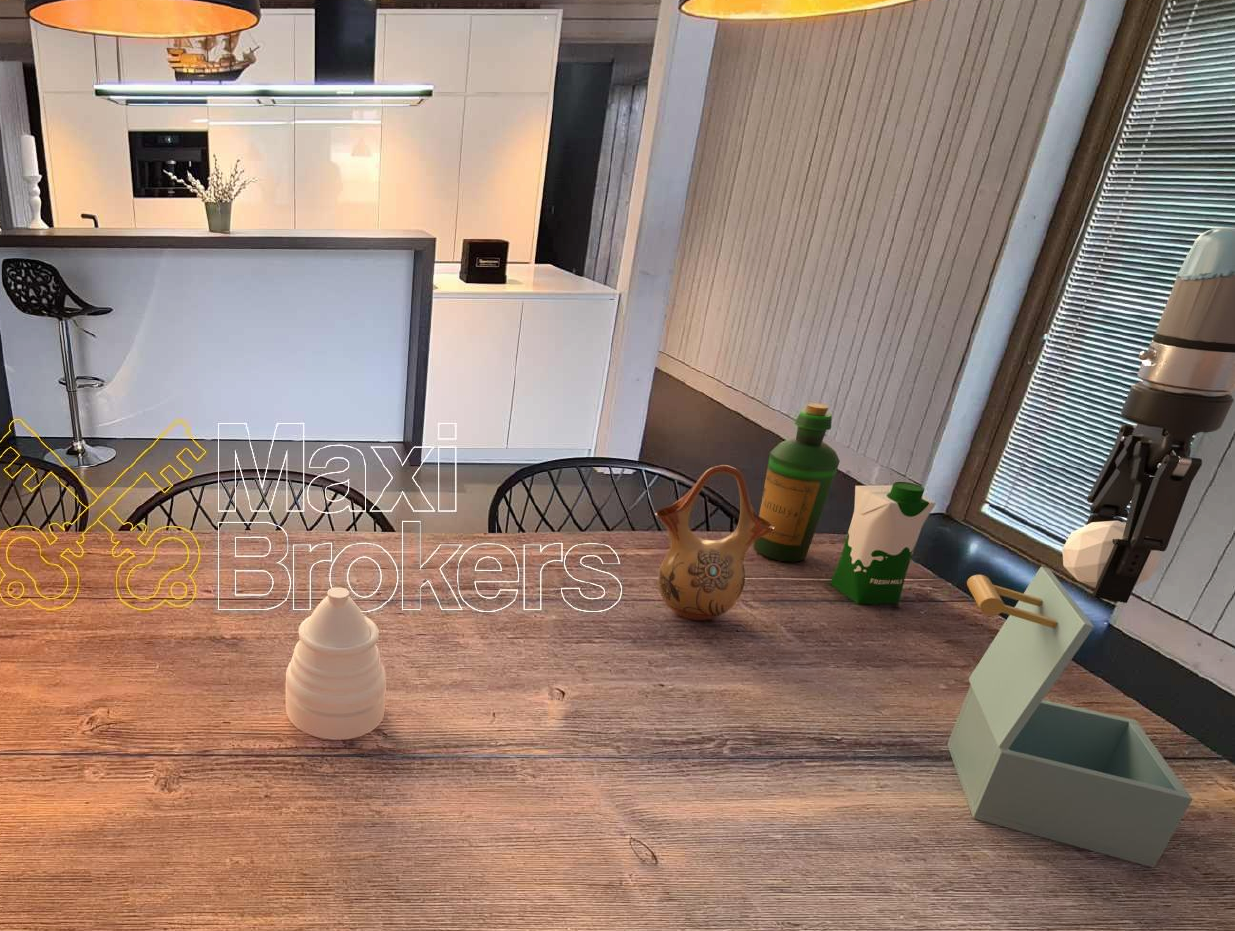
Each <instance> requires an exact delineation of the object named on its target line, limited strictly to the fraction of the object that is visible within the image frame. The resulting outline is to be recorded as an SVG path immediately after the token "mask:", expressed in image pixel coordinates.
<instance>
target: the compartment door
mask: <svg viewBox="0 0 1235 931" xmlns="http://www.w3.org/2000/svg"><path fill="white" fill-rule="evenodd" d="M966 585H967V588H968V589H969V592H970V593H971V595H972V597H973V599H974V601H975V603H976V604H977V607H978V608H979V610H980V611H981V612H982V613H983V614H984V615H986V616H997V615H1000V614H1002V613H1003V614H1006V615H1008V617H1007V619H1006V620H1005V622H1004V623H1003V625H1002V626H1001V627H1000V630H999V631H998V632H997V634H996V635H995V637H994V639H993V640H992V641H991V643H990V645H989V646H988V648H987V650H986V651H985V653H984V654H983V655H982V658H981V659H980V661H979V662H978V664H977V665H976V666H975V668H974V670H973V671H972V673H971V674H970V676H969V678H968V681H969V684H970V685H971V686H972V688H973V690H974V693H975V695H976V697H977V700H978V702H979V704H980V706H981V709H982V711H983V713H984V715H985V718H986V720H987V722H988V724H989V727H990V729H991V731H992V733H993V736H994V738H995V740H996V743H997V745H998V747H1000V748H1002V749H1005V750H1008V748H1009V747H1010V746H1011V744H1012V743H1013V741H1014V740H1015V739H1016V737H1017V736H1018V734H1019V733H1020V731H1021V730H1022V729H1023V727H1024V726H1025V724H1026V723H1027V722H1028V720H1029V719H1030V717H1031V716H1032V714H1033V713H1034V712H1035V710H1036V709H1037V707H1038V706H1039V705H1040V703H1041V702H1042V700H1045V697H1046V696H1047V695H1048V693H1049V692H1050V690H1051V689H1052V688H1053V686H1054V685H1055V683H1056V682H1057V681H1058V679H1059V678H1060V676H1061V675H1062V673H1063V672H1064V670H1065V669H1066V668H1067V666H1068V665H1069V664H1070V662H1071V661H1072V660H1073V658H1074V656H1075V655H1076V654H1077V652H1078V651H1079V650H1080V648H1081V647H1082V645H1083V644H1084V642H1085V641H1086V640H1087V638H1088V636H1089V635H1090V633H1091V632H1092V631H1093V630H1094V628H1095V626H1094V624H1093V623H1092V622H1091V620H1090V619H1089V618H1088V617H1087V615H1086V614H1085V613H1084V611H1083V610H1082V609H1081V607H1080V606H1079V605H1078V603H1077V602H1076V601H1075V599H1074V598H1073V597H1072V596H1071V595H1070V593H1069V592H1068V591H1067V590H1066V588H1065V587H1064V585H1063V584H1062V583H1061V582H1060V581H1059V579H1058V578H1057V577H1056V575H1055V574H1054V572H1052V570H1051V569H1050V568H1048V567H1044V566H1040V567H1039V569H1038V571H1037V572H1036V573H1035V575H1034V576H1033V578H1032V580H1031V581H1030V583H1029V584H1028V586H1027V587H1026V589H1025V590H1024V592H1020V591H1017V590H1013V589H1009V588H1006V587H1002V586H999V585H996V584H993V583H992V581H991V579H990V578H989V577H988V576H986V575H983V574H974V575H971V576H970V577H969V578H968V579H967V580H966ZM1001 597H1006V598H1009V599H1012V600H1015V601H1018V602H1017V603H1016V605H1015V606H1011V605H1007V604H1005V603H1004V601H1003V600H1002V598H1001Z"/></svg>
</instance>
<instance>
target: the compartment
mask: <svg viewBox="0 0 1235 931" xmlns="http://www.w3.org/2000/svg"><path fill="white" fill-rule="evenodd" d="M946 745H947V748H948V751H949V753H950V757H951V760H952V762H953V765H954V768H955V771H956V774H957V776H958V779H959V782H960V785H961V789H962V791H963V794H964V796H965V799H966V802H967V805H968V808H969V811H970V813H971V816H972V819H975V820H978V821H981V822H985V823H989V824H992V825H996V826H999V827H1002V828H1007V829H1011V830H1015V831H1018V832H1022V833H1025V834H1029V835H1031V836H1032V835H1033V836H1036V837H1039V838H1043V839H1047V840H1051V841H1054V842H1058V843H1061V844H1065V845H1069V846H1071V847H1076V848H1080V849H1083V850H1087V851H1091V852H1095V853H1098V854H1101V855H1106V856H1109V857H1113V858H1116V859H1119V860H1123V861H1127V862H1130V863H1135V864H1138V865H1142V866H1145V867H1149V868H1153V869H1154V868H1155V867H1156V865H1157V864H1158V862H1159V861H1160V859H1161V857H1162V855H1163V853H1164V851H1165V850H1166V848H1167V846H1168V844H1169V843H1170V840H1172V837H1173V835H1174V834H1175V832H1176V830H1177V828H1178V827H1179V824H1181V821H1182V819H1183V818H1184V816H1185V814H1186V812H1187V810H1188V809H1189V807H1190V806H1191V803H1192V801H1193V797H1192V796H1191V795H1190V793H1189V792H1188V790H1187V789H1186V788H1185V786H1184V785H1183V784H1182V782H1181V781H1180V780H1179V778H1178V777H1177V775H1176V774H1175V773H1174V771H1173V770H1172V768H1171V766H1170V765H1169V764H1168V762H1167V761H1166V760H1165V757H1163V756H1162V754H1161V753H1160V752H1159V750H1158V749H1157V747H1156V746H1155V744H1154V743H1153V741H1152V740H1151V739H1150V737H1149V736H1148V735H1147V733H1146V732H1145V730H1144V728H1142V726H1141V724H1140V723H1139V722H1138V721H1137V720H1136V719H1134V718H1129V717H1124V716H1119V715H1115V714H1110V713H1107V712H1106V713H1105V712H1101V711H1097V710H1092V709H1089V708H1088V709H1087V708H1084V707H1079V706H1073V705H1069V704H1065V703H1062V702H1061V703H1060V702H1055V701H1051V700H1047V699H1043V700H1042V702H1041V703H1040V705H1039V706H1038V707H1037V709H1036V710H1035V712H1034V713H1033V714H1032V716H1031V717H1030V719H1029V720H1028V722H1027V723H1026V724H1025V726H1024V727H1023V729H1022V730H1021V731H1020V733H1019V734H1018V736H1017V737H1016V739H1015V740H1014V741H1013V743H1012V744H1011V746H1010V747H1009V748H1008V750H1005V749H1002V748H1000V747H998V745H997V743H996V740H995V738H994V736H993V733H992V731H991V729H990V727H989V724H988V722H987V720H986V718H985V715H984V713H983V711H982V709H981V706H980V704H979V702H978V700H977V697H976V695H975V693H974V690H973V688H972V686H971V684H970V685H969V688H968V691H967V693H966V696H965V698H964V701H963V702H962V706H961V708H960V711H959V714H958V715H957V719H956V721H955V723H954V726H953V728H952V730H951V734H950V735H949V739H948V741H947V744H946Z"/></svg>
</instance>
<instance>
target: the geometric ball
mask: <svg viewBox="0 0 1235 931" xmlns="http://www.w3.org/2000/svg"><path fill="white" fill-rule="evenodd" d="M1125 526H1126V522H1124V521H1123V522H1120V521H1104V522H1092V523H1090V524H1088V525H1086V524H1085V525H1083V526H1082V527H1080V528H1078V529H1076V530H1074V531H1072V532H1070V534H1069V536H1068V537H1067V539H1066V541H1065V543H1064V544H1063V546H1062V549H1061V552H1062V563H1063V568H1065V569H1066V571H1068V573H1070V575H1072V576H1073V577H1074V579H1075V580H1077V581H1078V582H1080V583H1082V584H1084V585H1087V586H1090V587H1092V588H1094V589H1095V587H1096V585H1097V583H1098V580H1099V578H1100V576H1101V574H1102V571H1103V569H1104V567H1105V565H1106V562H1107V560H1108V558H1109V556H1110V554H1111V551H1112V549H1113V547H1114V544H1113V542H1112V541H1113V539H1122V538H1123V534H1124V530H1125ZM1159 552H1160V551H1156V550H1154V551H1152V550H1151V552H1150V554H1149V557H1148V559H1147V561H1146V563H1145V565H1144V567H1143V569H1142V572H1141V574H1140V576H1139V578H1138V580H1137V582H1136V584H1135V586H1137V585H1140V584H1142V583H1145V582H1146V581H1149V580H1150V578H1152V576H1153V574H1154V572H1155V571H1156V569H1157V568H1158V566H1159V565H1160V562H1161V561H1160V553H1159Z"/></svg>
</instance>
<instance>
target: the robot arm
mask: <svg viewBox="0 0 1235 931" xmlns="http://www.w3.org/2000/svg"><path fill="white" fill-rule="evenodd" d="M1138 354H1139V355H1138V359H1139V360H1141V365H1140V367H1139V370H1138V372H1137V377H1138V379H1139V380H1141V381H1139V382H1135V384H1133V385H1131V387H1130V389H1129V391H1128V394H1127V396H1126V398H1125V400H1124V403H1123V406H1122V408H1121V411H1120V414H1121V416H1122V418H1124V419H1125V420H1127V421H1129V422H1132V423H1135V424H1136V425H1135V424H1125V423H1123V424H1122V425H1120V427H1119V429H1118V433H1117V436H1116V439H1115V441H1114V444H1113V446H1112V448H1111V450H1110V452H1109V454H1108V456H1107V458H1106V459H1105V462H1104V464H1103V466H1102V468H1101V469H1100V472H1099V474H1098V476H1097V478H1096V480H1095V482H1094V483H1093V485H1092V487H1091V490H1090V491H1089V493H1088V495H1087V498H1086V501H1087V503H1089V504H1091V505H1090V507H1089V512H1090V513H1091V514H1090V515H1089V516H1088V519H1087V521H1086V523H1085V526H1086V525H1088V524H1090V523H1092V522H1104V521H1120V522H1123V523H1124V520H1123V519H1122V518H1125V519H1126V522H1125V523H1126V526H1125V530H1124V534H1123V538H1122V539H1113V541H1112V542H1113V544H1114V547H1113V549H1112V551H1111V554H1110V556H1109V558H1108V560H1107V562H1106V565H1105V567H1104V569H1103V571H1102V574H1101V576H1100V578H1099V580H1098V583H1097V585H1096V587H1095V588H1094V590H1093V592H1092V596H1093V597H1094V598H1096V599H1101V600H1107V601H1112V602H1119V603H1123V604H1127V603H1128V601H1129V599H1130V597H1131V596H1132V594H1133V591H1134V588H1135V587H1136V585H1135V584H1136V582H1137V580H1138V578H1139V576H1140V574H1141V572H1142V569H1143V567H1144V565H1145V563H1146V561H1147V559H1148V557H1149V554H1150V552H1151V550H1152V551H1154V550H1156V551H1158V552H1165V551H1166V550H1167V548H1168V546H1169V544H1170V541H1171V538H1172V536H1173V532H1174V530H1175V527H1176V525H1177V522H1178V519H1179V517H1180V514H1181V511H1182V509H1183V507H1184V503H1185V501H1186V498H1187V496H1188V493H1189V490H1190V489H1191V488H1190V487H1191V485H1192V483H1193V481H1194V479H1195V477H1196V476H1197V474H1198V472H1199V470H1200V469H1201V468H1202V465H1203V460H1202V458H1199V457H1190V456H1191V451H1192V449H1191V445H1192V441H1193V437H1194V435H1196V434H1200V433H1206V434H1207V433H1213V432H1217V431H1218V430H1220V429H1221V428H1222V426H1223V424H1224V422H1225V420H1226V418H1227V415H1228V414H1229V412H1230V410H1231V408H1232V405H1233V403H1234V401H1235V399H1234V398H1233V396H1232V395H1231V394H1230V393H1232V392H1235V228H1234V227H1219V228H1213V229H1209V230H1206V231H1205V232H1203V233H1201V234H1200V235H1199V236H1197V238H1196V239H1195V240H1194V242H1193V244H1192V246H1191V248H1190V250H1189V251H1188V253H1187V255H1186V257H1185V259H1184V261H1183V263H1182V265H1181V267H1180V268H1179V271H1178V272H1177V273H1176V275H1175V281H1174V283H1173V286H1172V289H1171V291H1170V294H1169V296H1168V299H1167V302H1166V304H1165V307H1164V310H1163V312H1162V315H1161V317H1160V319H1159V322H1158V324H1157V327H1156V329H1155V332H1154V334H1153V336H1152V339H1151V341H1150V343H1149V346H1148V349H1147V350H1141V351H1140V352H1139V353H1138ZM1129 504H1130V506H1129ZM1128 506H1129V509H1128V508H1127V507H1128ZM1117 517H1118V518H1117Z"/></svg>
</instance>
